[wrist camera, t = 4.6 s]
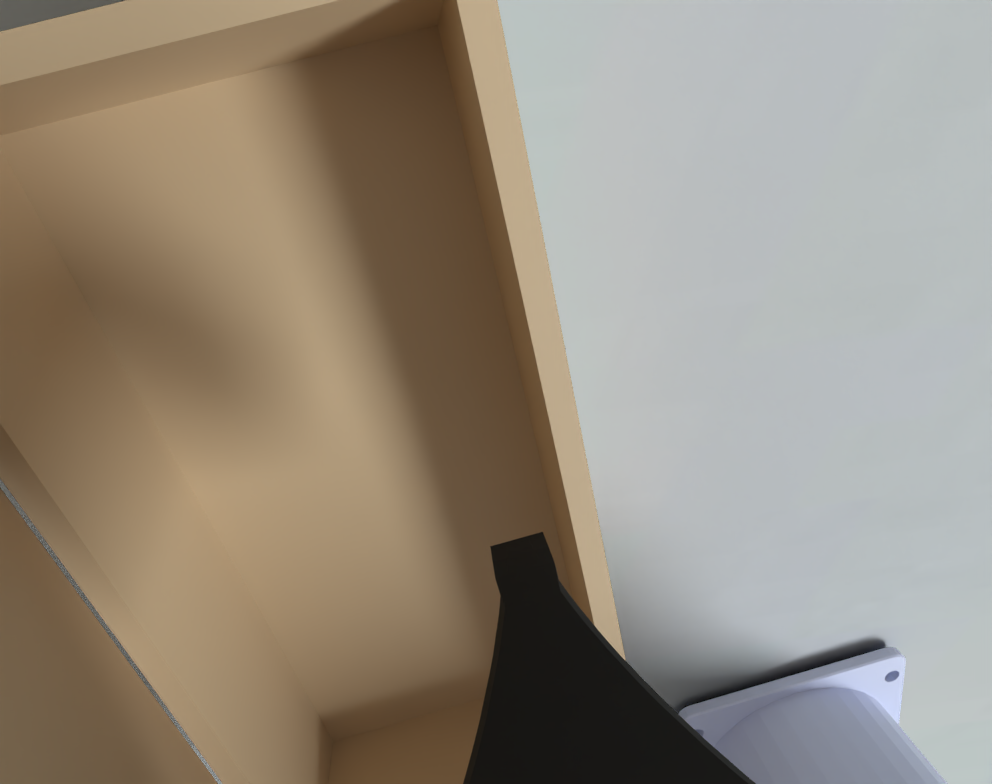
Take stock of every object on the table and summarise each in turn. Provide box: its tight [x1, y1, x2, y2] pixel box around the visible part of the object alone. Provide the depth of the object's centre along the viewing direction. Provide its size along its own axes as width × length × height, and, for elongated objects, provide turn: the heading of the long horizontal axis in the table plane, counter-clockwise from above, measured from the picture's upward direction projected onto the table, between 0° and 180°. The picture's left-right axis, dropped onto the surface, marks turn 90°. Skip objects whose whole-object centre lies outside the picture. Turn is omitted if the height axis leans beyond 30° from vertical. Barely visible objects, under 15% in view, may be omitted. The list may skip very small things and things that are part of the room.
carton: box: [0, 0, 626, 784], centre depth 12 cm, size 18×9×4 cm, turn 13°
